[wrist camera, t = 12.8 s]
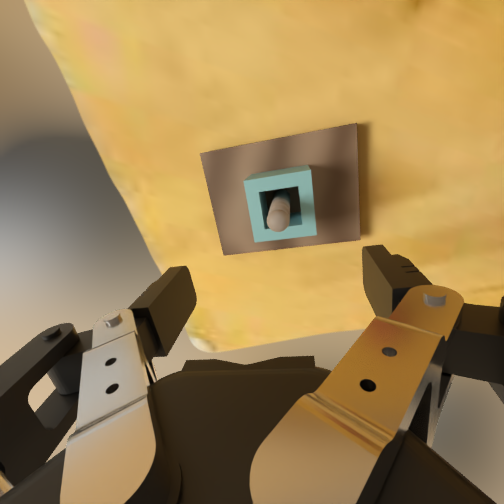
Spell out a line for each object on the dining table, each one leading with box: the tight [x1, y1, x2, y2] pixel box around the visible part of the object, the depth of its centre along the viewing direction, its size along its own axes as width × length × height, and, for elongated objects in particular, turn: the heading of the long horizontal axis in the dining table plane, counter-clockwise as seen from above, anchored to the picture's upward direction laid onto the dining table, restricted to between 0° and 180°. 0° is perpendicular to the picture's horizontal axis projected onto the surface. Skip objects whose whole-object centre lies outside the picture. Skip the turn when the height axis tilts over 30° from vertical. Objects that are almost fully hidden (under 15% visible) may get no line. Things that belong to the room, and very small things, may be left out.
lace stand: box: [200, 123, 360, 255], centre depth 25 cm, size 16×12×11 cm
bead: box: [243, 165, 317, 242], centre depth 27 cm, size 6×6×5 cm
